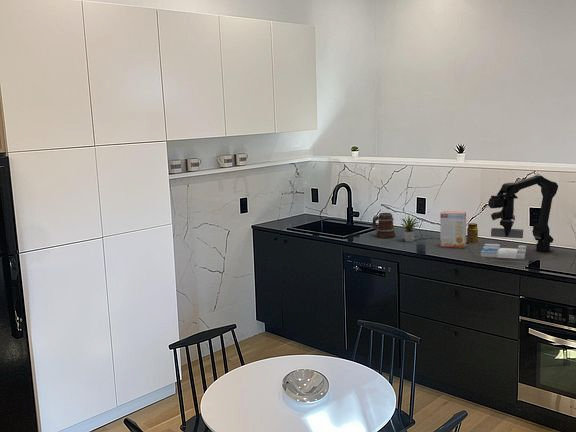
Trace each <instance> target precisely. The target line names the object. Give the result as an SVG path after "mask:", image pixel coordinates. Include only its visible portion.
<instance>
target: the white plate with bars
mask: <svg viewBox="0 0 576 432" xmlns="http://www.w3.org/2000/svg"><path fill="white" fill-rule="evenodd" d="M500 246H501V244H500V243H498V244H497V243H484V246H483V247H482V250H481V251H480V257H483V258H500V259H517V260H525V257H526V252H527V245H518V247H517V248H509V247H500Z"/></svg>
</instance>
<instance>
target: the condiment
mask: <svg viewBox="0 0 576 432" xmlns="http://www.w3.org/2000/svg"><path fill="white" fill-rule="evenodd" d="M478 236H479V229H478V224H477V223H474V222H471V223H468V224H467V227H466V246H468V245H469V243H470V244H477V243H478V240H479V239H478Z"/></svg>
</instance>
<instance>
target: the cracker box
mask: <svg viewBox="0 0 576 432" xmlns="http://www.w3.org/2000/svg"><path fill="white" fill-rule="evenodd" d="M439 214H440V218H439V219H440V221H439V222H440V227H439V228H440V229H439V231H440V232H439V235H440V237H439V238H440V240H439V241H440V245H439V246H440V248H457V249H458V248H460V249H465V248H466V247H467V245H466V242H467V211H457V210H456V211H455V210H454V211H453V210H442V211H441V212H440V213H439Z"/></svg>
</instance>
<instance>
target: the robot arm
mask: <svg viewBox="0 0 576 432" xmlns="http://www.w3.org/2000/svg"><path fill="white" fill-rule="evenodd" d="M535 185H537V186H538V187H540V193H541V196H542V199H541V204H540V205H541V206H540V211H539V215H538V217H539V218H538V222H537V224H536V225H535V224H534V225H533V226H532V231H531V233H532V236H533V237H534V240H535V241H537V243H536V245H535V247H536V249H535V251H536V252H540V253H549V252H550V251H551V244H552V243H553V242H554V238H553V237H552V235H551V234H550V230H551V229H550V227H549V221H550V214H551V209H552V205H553V204H552V203H553V198H554V197H555V196H556V194H557V192H558V189H559V184H558V183H557V182H556V181H552V180H550V179H547V178H545V177H544V176H543V175H537V174H536V175H534V176H531V177H527V178H525V179H522V180H519V181H517V182H507V183H503V184H502V185H501V188H500V189H499V191H498V193H496V195H490V198H489V199H488V203H487V204H488V207H489V208H490V209H501V210H500V211H496V212H495V211H494V212H492V213H491V214H490V216H491V219H492V221H495V220H498V219H500V221H499V225H500V226H502V227H503V229H504V231H505V236H507V237H508V235H509V233H510V230H511V229H513V228H512V227H513V226H514V224H515V220H516V215H514V211H515V200H516V199H518V198H519V196H517V194H518V193H519V192H520V191H521V190H524V189H526V188H529V187H532V186H535ZM507 237H506V238H507Z"/></svg>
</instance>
